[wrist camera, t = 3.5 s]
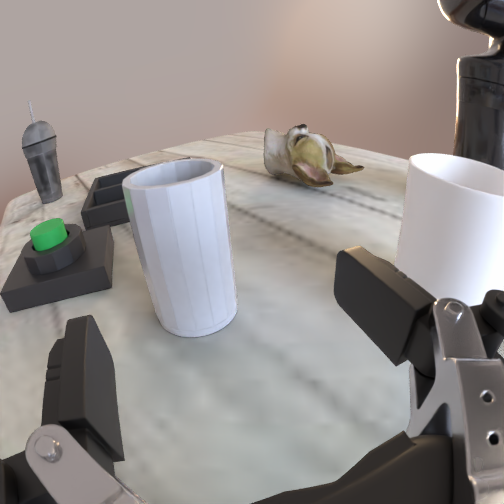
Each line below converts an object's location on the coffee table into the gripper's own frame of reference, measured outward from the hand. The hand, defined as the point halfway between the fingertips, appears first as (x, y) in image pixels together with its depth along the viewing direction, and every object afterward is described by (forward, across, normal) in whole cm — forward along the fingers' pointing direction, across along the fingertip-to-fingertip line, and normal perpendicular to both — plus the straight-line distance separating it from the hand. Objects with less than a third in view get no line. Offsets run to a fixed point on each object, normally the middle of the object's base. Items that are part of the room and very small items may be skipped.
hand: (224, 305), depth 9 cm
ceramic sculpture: (+32, -21, +8) cm, 39 cm away
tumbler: (+10, 0, +8) cm, 13 cm away
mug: (0, -16, +8) cm, 18 cm away
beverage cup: (+52, +21, +8) cm, 57 cm away
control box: (+20, +12, +8) cm, 25 cm away
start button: (+20, +12, +5) cm, 24 cm away
